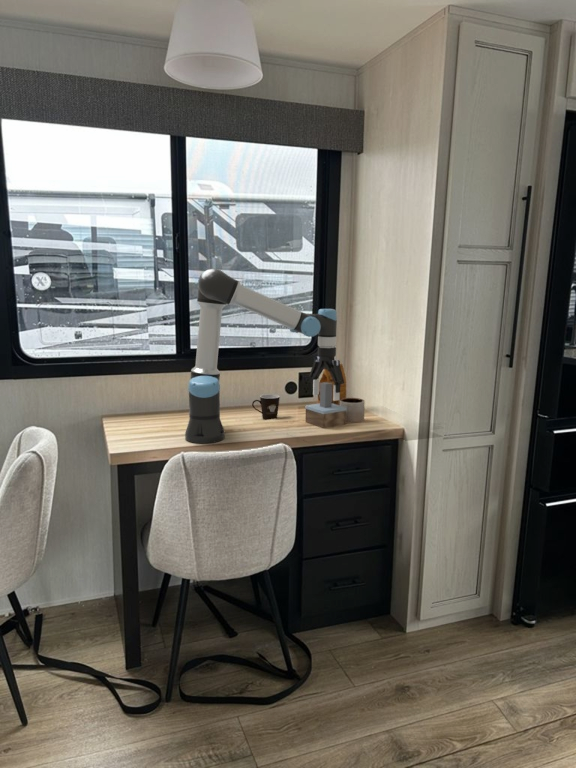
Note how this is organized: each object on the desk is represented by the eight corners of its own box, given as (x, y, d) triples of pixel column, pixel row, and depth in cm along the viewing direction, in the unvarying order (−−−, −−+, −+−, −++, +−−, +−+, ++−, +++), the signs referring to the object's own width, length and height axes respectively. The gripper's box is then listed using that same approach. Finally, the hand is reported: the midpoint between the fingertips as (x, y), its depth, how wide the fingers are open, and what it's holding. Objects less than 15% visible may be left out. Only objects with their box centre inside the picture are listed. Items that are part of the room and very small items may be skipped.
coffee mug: (280, 416, 261) (280, 394, 259) (278, 421, 253) (278, 398, 251) (254, 415, 262) (254, 393, 261) (251, 420, 254) (251, 397, 252)
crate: (323, 430, 238) (323, 414, 237) (305, 424, 248) (305, 408, 247) (345, 426, 245) (345, 410, 244) (327, 420, 255) (327, 404, 253)
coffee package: (314, 410, 274) (315, 364, 270) (336, 407, 280) (337, 362, 276) (326, 414, 265) (327, 367, 261) (348, 411, 271) (349, 365, 267)
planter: (346, 425, 246) (346, 403, 245) (334, 419, 256) (335, 398, 255) (368, 423, 250) (369, 401, 249) (356, 417, 260) (357, 396, 259)
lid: (323, 417, 237) (324, 387, 235) (304, 411, 247) (305, 382, 245) (346, 413, 244) (347, 384, 242) (327, 407, 254) (328, 379, 252)
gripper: (354, 349, 232) (352, 401, 236) (315, 343, 252) (314, 391, 256) (339, 350, 228) (338, 403, 232) (301, 344, 248) (301, 393, 252)
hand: (325, 397), depth 244 cm, fingers open, 13 cm apart
